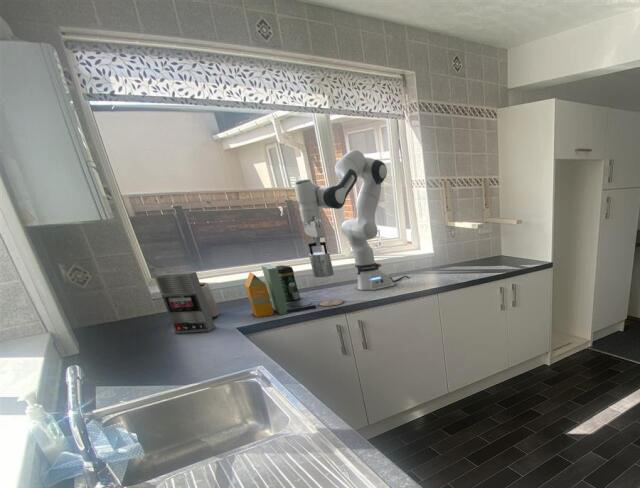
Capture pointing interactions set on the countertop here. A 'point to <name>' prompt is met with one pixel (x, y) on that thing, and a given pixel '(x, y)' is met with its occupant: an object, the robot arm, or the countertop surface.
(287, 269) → the coffee jar
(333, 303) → the cork mat
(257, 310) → the orange juice
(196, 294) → the cassette tape recorder
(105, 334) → the countertop surface
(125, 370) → the countertop surface
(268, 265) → the coffee maker
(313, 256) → the grey box with handle
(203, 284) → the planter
